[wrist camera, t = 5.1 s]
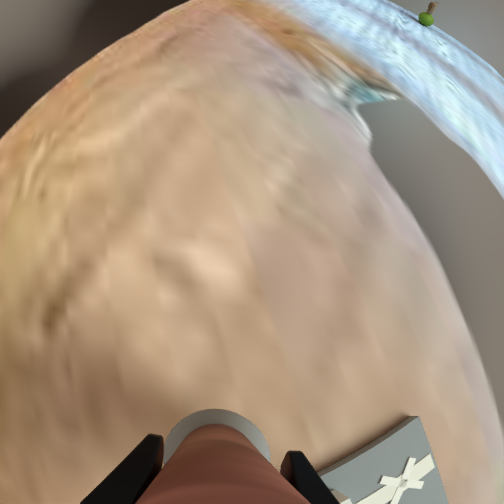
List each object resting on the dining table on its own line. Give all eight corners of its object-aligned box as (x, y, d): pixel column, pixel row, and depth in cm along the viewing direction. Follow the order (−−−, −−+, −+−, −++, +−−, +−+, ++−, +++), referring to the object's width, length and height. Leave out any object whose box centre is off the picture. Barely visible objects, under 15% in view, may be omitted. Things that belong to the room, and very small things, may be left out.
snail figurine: (418, 24, 70) (430, -3, 59) (415, 19, 73) (425, -7, 62) (432, 31, 70) (444, 5, 59) (428, 26, 73) (439, 1, 62)
